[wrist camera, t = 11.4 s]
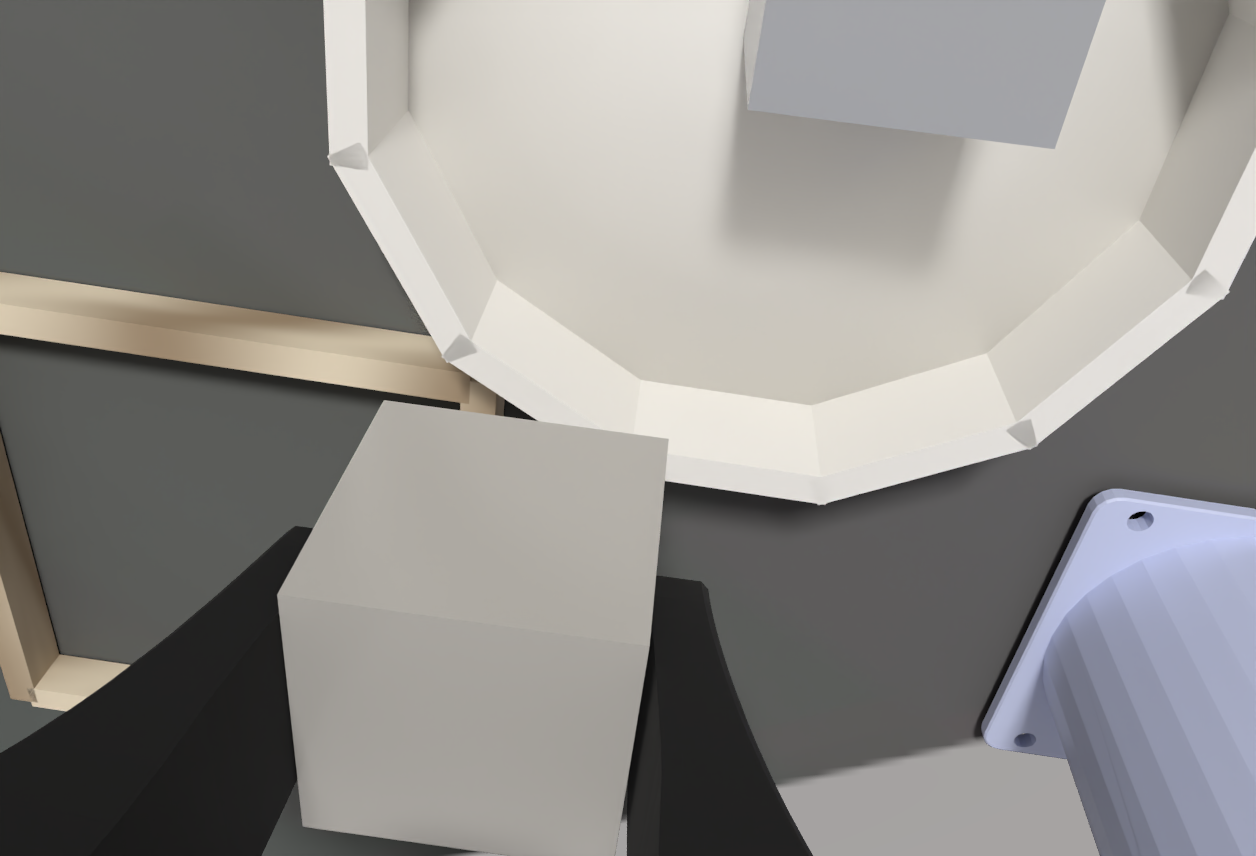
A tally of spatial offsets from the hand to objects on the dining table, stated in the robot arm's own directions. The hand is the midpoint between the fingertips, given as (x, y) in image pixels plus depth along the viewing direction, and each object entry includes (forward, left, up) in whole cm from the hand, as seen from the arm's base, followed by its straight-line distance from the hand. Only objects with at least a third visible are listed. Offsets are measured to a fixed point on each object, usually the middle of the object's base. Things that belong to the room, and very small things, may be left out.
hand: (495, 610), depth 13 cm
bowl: (-3, -6, -8) cm, 11 cm away
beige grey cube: (0, 0, -2) cm, 2 cm away
